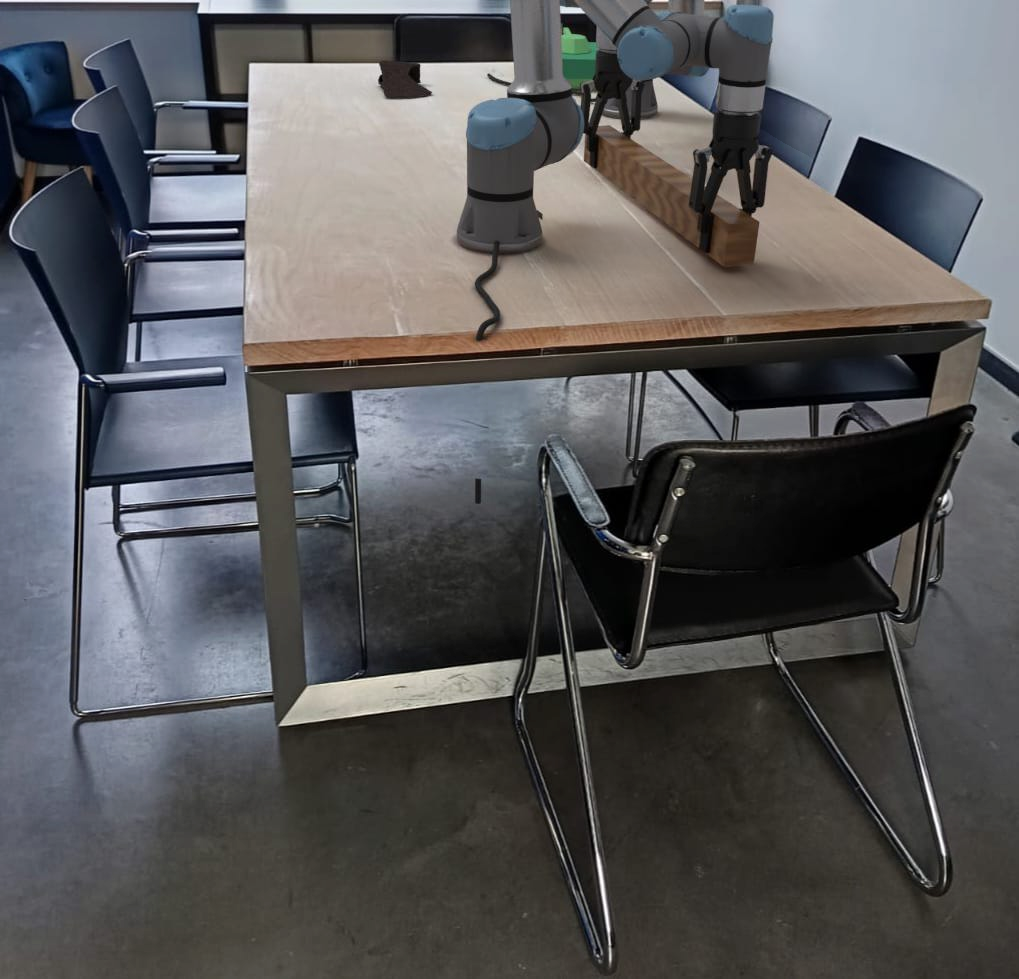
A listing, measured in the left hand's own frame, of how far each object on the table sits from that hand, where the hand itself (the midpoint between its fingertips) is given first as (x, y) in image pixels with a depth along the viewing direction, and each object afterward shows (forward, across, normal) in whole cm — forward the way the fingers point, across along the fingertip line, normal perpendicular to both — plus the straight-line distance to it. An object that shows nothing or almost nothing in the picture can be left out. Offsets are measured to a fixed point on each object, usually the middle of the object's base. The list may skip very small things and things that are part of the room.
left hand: (720, 249), depth 188 cm
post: (+1, 0, -27) cm, 27 cm away
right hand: (0, 0, -54) cm, 54 cm away
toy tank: (+2, -26, -151) cm, 153 cm away
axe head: (+2, +25, -144) cm, 146 cm away
